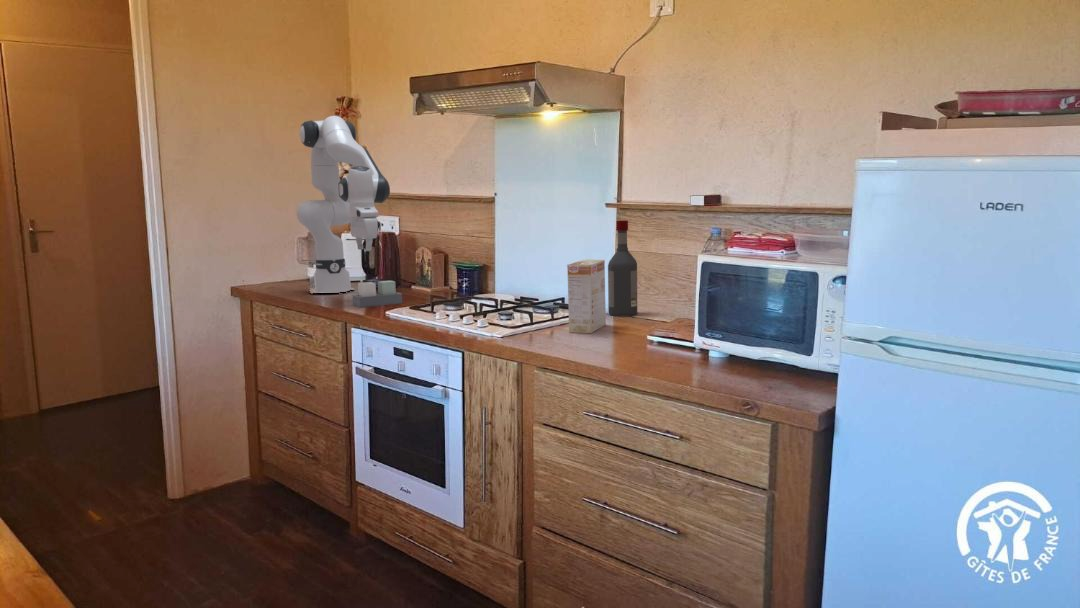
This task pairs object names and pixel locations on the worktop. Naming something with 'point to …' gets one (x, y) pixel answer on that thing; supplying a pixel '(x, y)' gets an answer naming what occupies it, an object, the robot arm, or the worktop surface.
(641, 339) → the worktop surface
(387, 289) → the sage plug
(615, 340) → the worktop surface
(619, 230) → the liquor
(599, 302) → the coffeecake box
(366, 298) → the slot rack
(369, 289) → the ivory plug
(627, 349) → the worktop surface
